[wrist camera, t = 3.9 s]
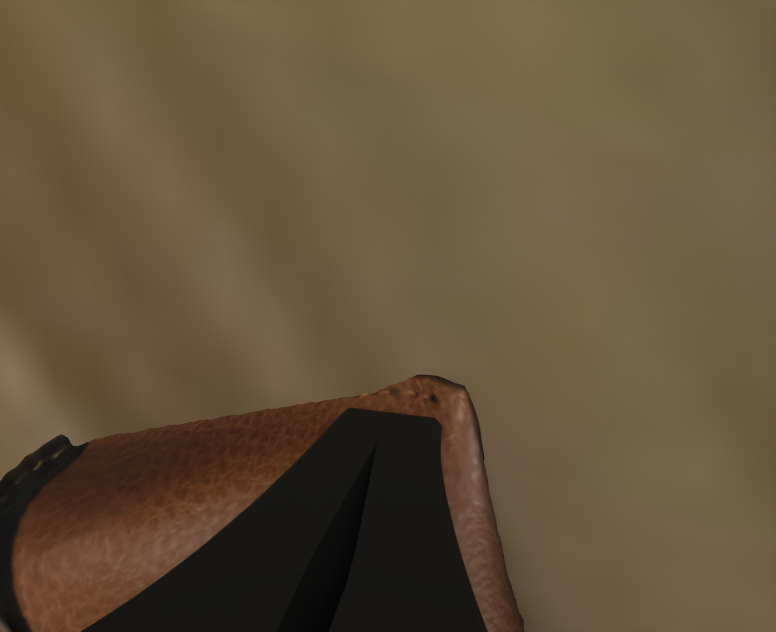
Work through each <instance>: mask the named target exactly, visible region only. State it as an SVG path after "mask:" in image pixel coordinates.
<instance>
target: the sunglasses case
mask: <svg viewBox="0 0 776 632" xmlns="http://www.w3.org/2000/svg"><path fill="white" fill-rule="evenodd" d="M348 408H358V409H366V410H375V411H383V412H392V413H400V414H408V415H417V416H425V417H434V418H436V419H437V420H438V422H439V423H440V424H441V425H442V439H441V464H442V471H443V478H444V485H445V490H446V495H447V500H448V504H449V509H450V513H451V517H452V521H453V525H454V529H455V534H456V537H457V541H458V544H459V548H460V551H461V555H462V558H463V562H464V565H465V568H466V571H467V574H468V577H469V580H470V583H471V586H472V589H473V592H474V595H475V598H476V601H477V604H478V606H479V609H480V612H481V615H482V617H483V620H484V623H485V625H486V628H487V630H488V632H524V621H523V618H522V616H521V615H520V614H519V611H518V608H517V602H516V599H515V597H514V594H513V590H512V586H511V584H510V581H509V578H508V575H507V571H506V566H505V560H504V554H503V550H502V544H501V541H500V537H499V535H498V532H497V524H496V518H495V515H494V511H493V506H492V502H491V498H490V494H489V489H488V480H487V475H486V470H485V466H484V462H483V461H484V452H483V446H482V441H481V433H480V426H479V422H478V418H477V415H476V412H475V409H474V406H473V404H472V401H471V399H470V396H469V393H468V392H467V390H466V388H465V386H462V385H459V384H456V383H453V382H451V381H449V380H446V379H444V378H441V377H439V376H434V375H416V376H414V377H411V378H409V379H407V380H406V381H404V382H401V383H397V384H393V385H390V386H388V387H386V388H384V389H381V390H379V391H378V392H377V393H373V394H369V393H368V394H362V395H360V396H355V397H344V398H338V399H333V400H325V401H321V402H310V403H306V404H302V405H301V404H298V405H295V406H290V407H282V408H278V409H265V410H262V411H257V412H251V413H246V414H242V415H231V416H224V417H220V418H217V419H213V420H199V421H197V422H189V423H184V424H180V425H167V426H165V427H160V428H155V429H154V428H150V429H147V430H144V431H139V432H135V433H131V434H130V433H125V434H116V435H113V436H107V437H104V438H99V439H94V440H92V441H90V442H86V443H85V444H82V445H80V446H73V445H72V444H71V443H70V441H69V439H68V438H67V437H66V436H64V435H59V436H57V437H55V438H54V439H52V440H51V441H49V442H47V443H46V444H44V445H43V446H41V447H40V448H39V449H38V450H36V451H35V452H34V453H32V454H29V455H27V456H26V457H25V458H24V459H23V460H22V461H21V463H20V464H19V465H18V466H17V467H16V468H14V469H12V470H11V471H9V472H8V473H7V474H5V476H4V477H3V478H2V480H1V481H0V632H81V631H82V630H84V629H85V628H87V627H89V626H90V625H92V624H93V623H95V622H97V621H98V620H100V619H101V618H103V617H104V616H106V615H107V614H109V613H110V612H112V611H113V610H115V609H116V608H118V607H119V606H121V605H122V604H124V603H125V602H127V601H128V600H130V599H131V598H133V597H134V596H136V595H137V594H139V593H140V592H141V591H143V590H144V589H145V588H147V587H148V586H150V585H151V584H152V583H154V582H155V581H157V580H158V579H159V578H161V577H162V576H163V575H165V574H166V573H168V572H169V571H170V570H172V569H173V568H174V567H176V566H177V565H178V564H179V563H181V562H182V561H183V560H185V559H186V558H187V557H188V556H190V555H191V554H192V553H194V552H195V551H196V550H197V549H199V548H200V547H201V546H202V545H204V544H205V543H206V542H207V541H209V540H210V539H211V538H212V537H213V536H214V535H216V534H217V533H218V532H219V531H220V530H221V529H223V528H224V527H225V526H226V525H227V524H228V523H230V522H231V521H232V520H233V519H234V518H235V517H237V516H238V515H239V514H240V513H241V512H242V511H244V510H245V509H246V508H247V507H248V506H249V505H250V504H252V503H253V502H254V501H255V500H256V499H257V498H258V497H259V496H260V495H261V494H262V493H264V492H265V491H266V490H267V489H268V488H269V487H270V486H271V485H272V484H273V483H274V482H275V481H276V480H277V479H278V478H279V477H280V476H281V475H282V474H283V473H284V472H285V471H287V470H288V469H289V468H290V467H291V466H292V465H293V464H294V463H295V462H296V461H297V460H298V459H299V458H300V457H301V456H302V455H303V454H304V453H305V452H306V451H307V450H308V449H309V448H310V446H311V445H312V444H313V443H314V442H315V441H316V440H317V439H318V438H319V437H320V436H321V435H322V434H323V433H324V432H325V431H326V430H327V429H328V427H329V426H330V425H331V424H332V423H333V422H334V421H335V420H336V419H337V418H338V417H339V416H340V414H341V413H343V412H344V411H345V410H347V409H348Z"/></svg>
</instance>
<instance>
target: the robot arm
mask: <svg viewBox="0 0 776 632" xmlns="http://www.w3.org/2000/svg"><path fill="white" fill-rule="evenodd" d="M441 439H442V425H441V424H440V423H439V422H438V420H437V419H436V418H434V417H425V416H417V415H408V414H400V413H392V412H383V411H375V410H366V409H358V408H348V409H347V410H345V411H344V412H343V413H341V414H340V416H339V417H338V418H337V419H336V420H335V421H334V422H333V423H332V424H331V425H330V426H329V427H328V429H327V430H326V431H325V432H324V433H323V434H322V435H321V436H320V437H319V438H318V439H317V440H316V441H315V442H314V443H313V444H312V445H311V446H310V448H309V449H308V450H307V451H306V452H305V453H304V454H303V455H302V456H301V457H300V458H299V459H298V460H297V461H296V462H295V463H294V464H293V465H292V466H291V467H290V468H289V469H288V470H287V471H285V472H284V473H283V474H282V475H281V476H280V477H279V478H278V479H277V480H276V481H275V482H274V483H273V484H272V485H271V486H270V487H269V488H268V489H267V490H266V491H265V492H264V493H262V494H261V495H260V496H259V497H258V498H257V499H256V500H255V501H254V502H253V503H252V504H250V505H249V506H248V507H247V508H246V509H245V510H244V511H242V512H241V513H240V514H239V515H238V516H237V517H235V518H234V519H233V520H232V521H231V522H230V523H228V524H227V525H226V526H225V527H224V528H223V529H221V530H220V531H219V532H218V533H217V534H216V535H214V536H213V537H212V538H211V539H210V540H209V541H207V542H206V543H205V544H204V545H202V546H201V547H200V548H199V549H197V550H196V551H195V552H194V553H192V554H191V555H190V556H188V557H187V558H186V559H185V560H183V561H182V562H181V563H179V564H178V565H177V566H176V567H174V568H173V569H172V570H170V571H169V572H168V573H166V574H165V575H163V576H162V577H161V578H159V579H158V580H157V581H155V582H154V583H152V584H151V585H150V586H148V587H147V588H145V589H144V590H143V591H141V592H140V593H139V594H137V595H136V596H134V597H133V598H131V599H130V600H128V601H127V602H125V603H124V604H122V605H121V606H119V607H118V608H116V609H115V610H113V611H112V612H110V613H109V614H107V615H106V616H104V617H103V618H101V619H100V620H98V621H97V622H95V623H93V624H92V625H90V626H89V627H87V628H85V629H84V630H82V631H81V632H488V630H487V628H486V625H485V623H484V620H483V617H482V615H481V612H480V609H479V606H478V604H477V601H476V598H475V595H474V592H473V589H472V586H471V583H470V580H469V577H468V574H467V571H466V568H465V565H464V562H463V558H462V555H461V551H460V548H459V544H458V541H457V537H456V534H455V529H454V525H453V521H452V517H451V513H450V509H449V504H448V500H447V495H446V490H445V485H444V478H443V471H442V464H441Z"/></svg>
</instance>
